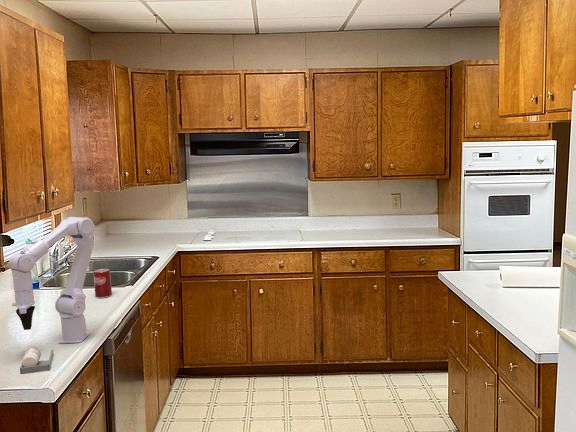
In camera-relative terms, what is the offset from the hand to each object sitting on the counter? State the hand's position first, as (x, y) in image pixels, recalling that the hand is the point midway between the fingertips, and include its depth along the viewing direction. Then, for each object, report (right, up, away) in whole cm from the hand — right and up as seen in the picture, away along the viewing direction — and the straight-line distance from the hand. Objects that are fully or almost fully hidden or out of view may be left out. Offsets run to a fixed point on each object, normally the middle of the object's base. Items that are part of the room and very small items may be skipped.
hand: (27, 329), depth 220 cm
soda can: (+4, +1, +76) cm, 76 cm away
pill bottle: (+4, -7, -6) cm, 10 cm away
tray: (+6, -10, -8) cm, 14 cm away
